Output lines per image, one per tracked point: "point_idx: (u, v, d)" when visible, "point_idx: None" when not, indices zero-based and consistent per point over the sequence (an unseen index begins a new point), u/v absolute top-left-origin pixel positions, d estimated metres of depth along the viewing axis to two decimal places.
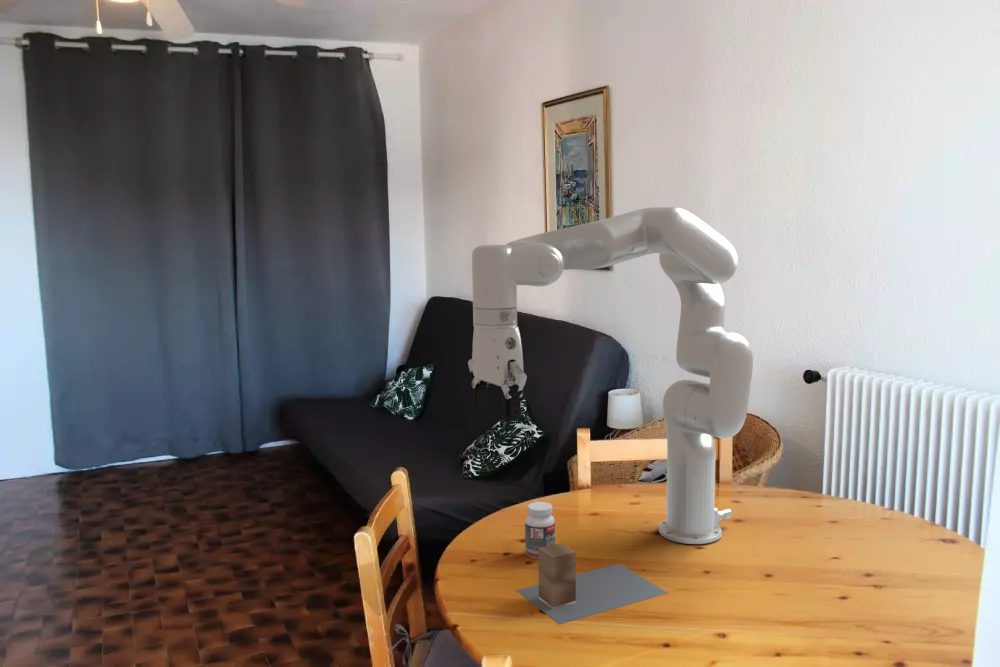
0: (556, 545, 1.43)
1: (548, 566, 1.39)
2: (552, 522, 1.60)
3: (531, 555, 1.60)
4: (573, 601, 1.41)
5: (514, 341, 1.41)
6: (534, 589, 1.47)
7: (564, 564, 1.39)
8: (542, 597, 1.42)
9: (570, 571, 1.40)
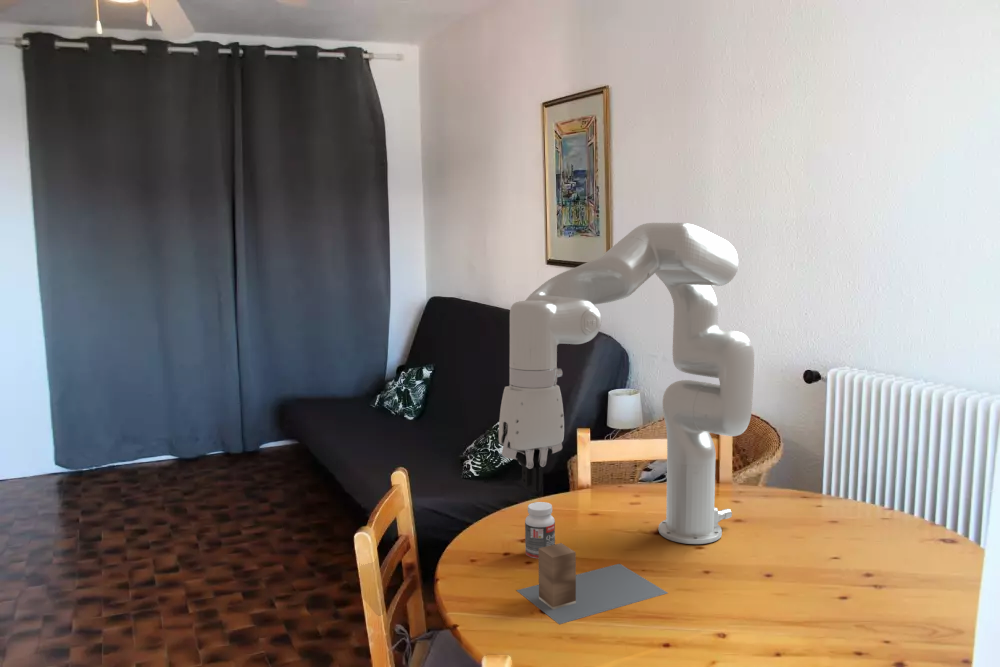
0: (556, 545, 1.43)
1: (548, 566, 1.39)
2: (552, 522, 1.60)
3: (531, 555, 1.60)
4: (573, 601, 1.41)
5: None
6: (534, 589, 1.47)
7: (564, 564, 1.39)
8: (542, 597, 1.42)
9: (570, 571, 1.40)
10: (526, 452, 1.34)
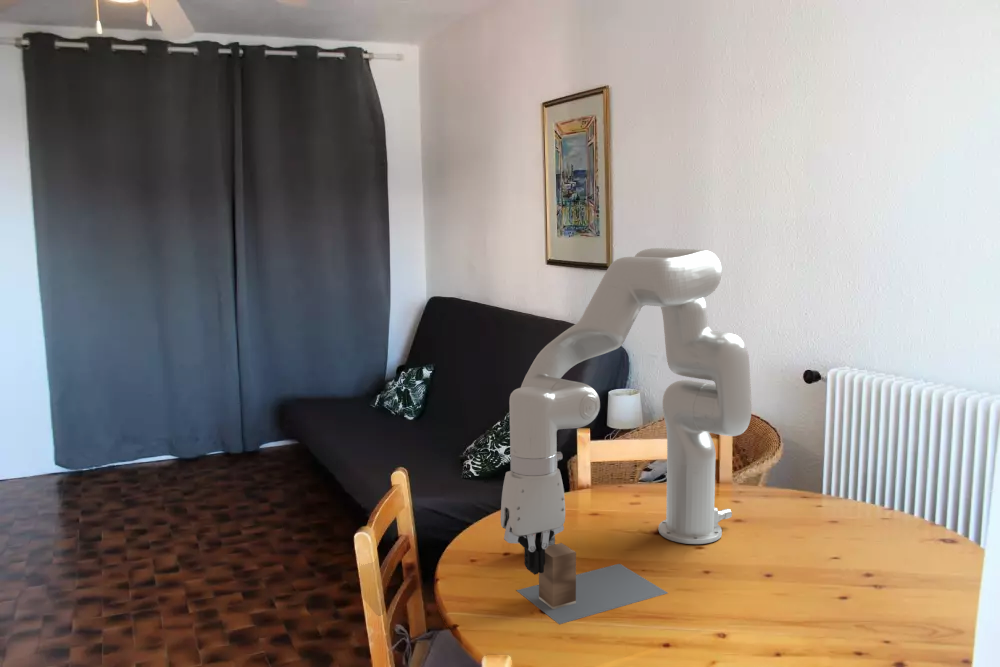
0: (557, 545, 1.43)
1: (548, 566, 1.39)
2: None
3: None
4: (573, 601, 1.41)
5: None
6: (534, 589, 1.47)
7: (564, 564, 1.39)
8: (542, 597, 1.42)
9: (570, 571, 1.40)
10: (528, 536, 1.36)
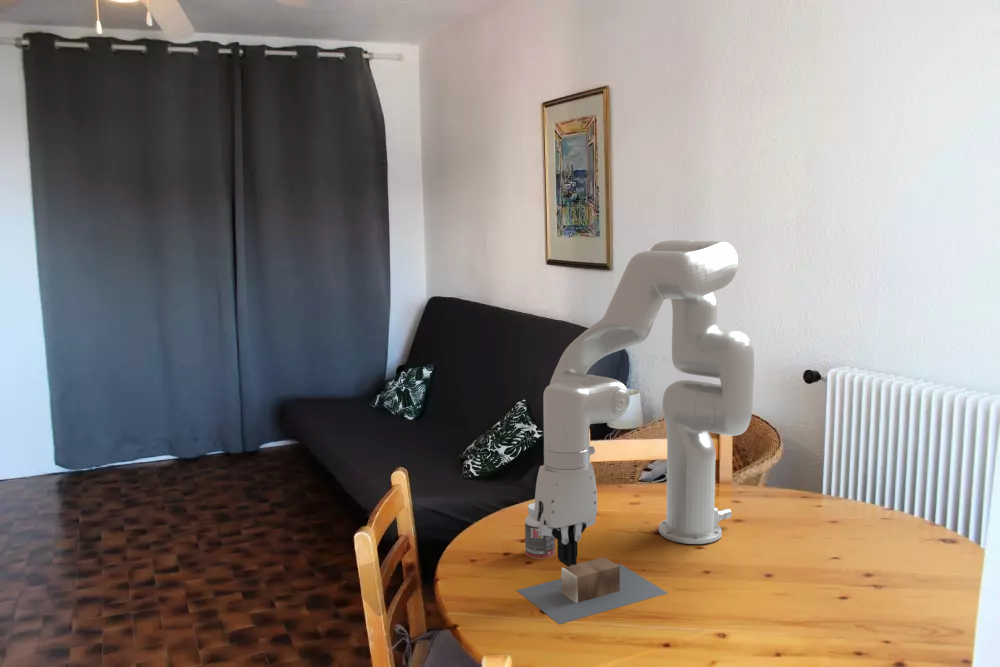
0: None
1: (605, 565, 1.45)
2: None
3: (531, 555, 1.60)
4: (577, 599, 1.41)
5: None
6: (534, 589, 1.47)
7: (611, 581, 1.44)
8: (568, 569, 1.44)
9: (604, 589, 1.44)
10: (561, 529, 1.39)
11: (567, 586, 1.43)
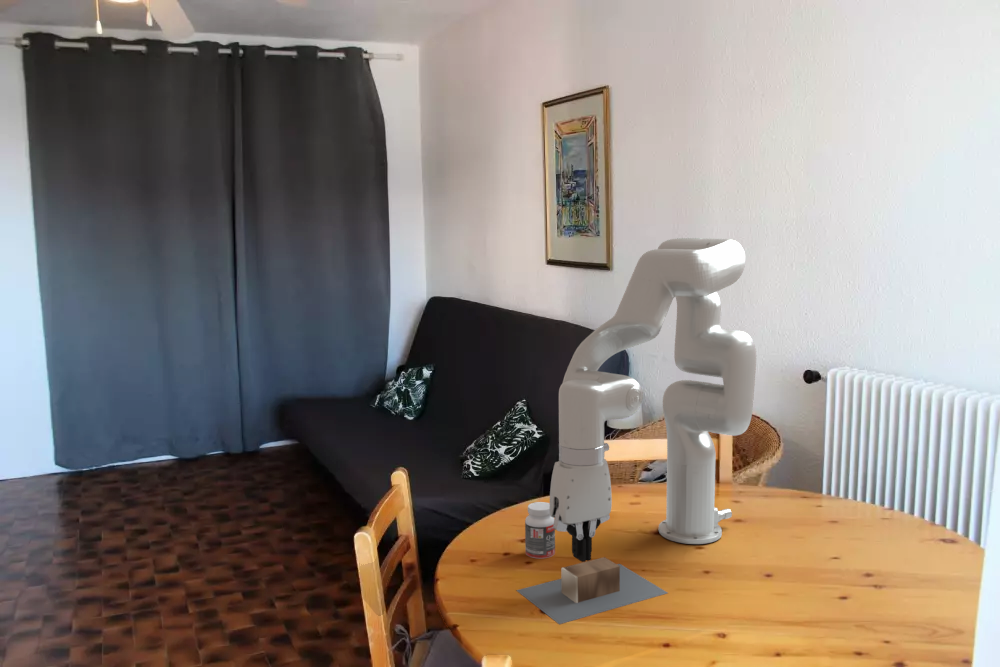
0: None
1: (605, 565, 1.45)
2: (552, 522, 1.60)
3: (531, 555, 1.60)
4: (577, 599, 1.41)
5: None
6: (534, 589, 1.47)
7: (611, 581, 1.44)
8: (568, 569, 1.44)
9: (604, 589, 1.44)
10: (576, 525, 1.40)
11: (567, 586, 1.43)
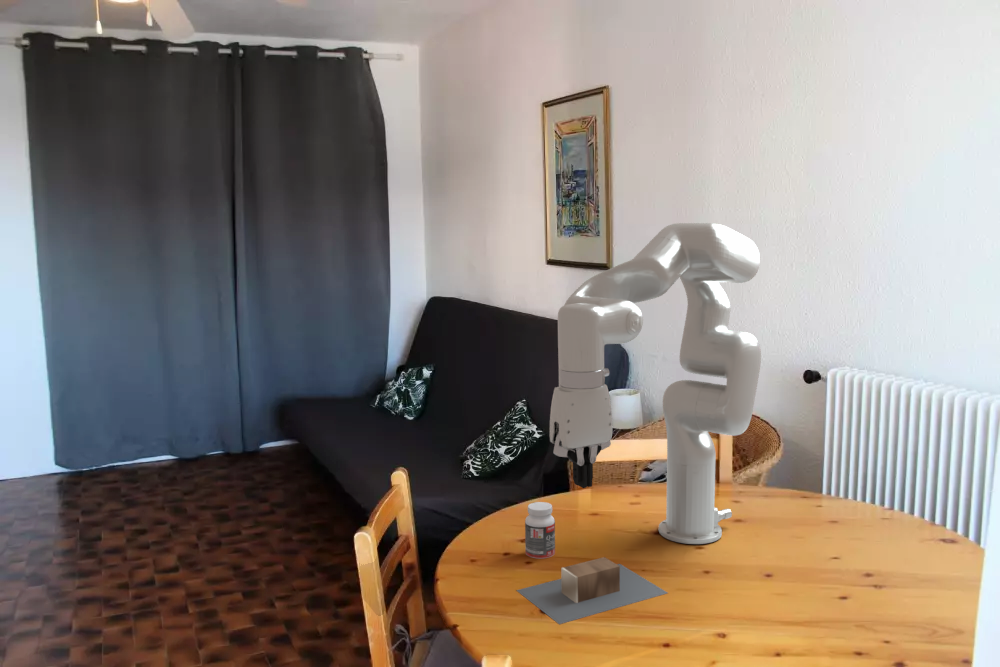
0: None
1: (605, 565, 1.45)
2: (552, 522, 1.60)
3: (531, 555, 1.60)
4: (577, 599, 1.41)
5: None
6: (534, 589, 1.47)
7: (611, 581, 1.44)
8: (568, 569, 1.44)
9: (604, 589, 1.44)
10: (577, 450, 1.39)
11: (567, 586, 1.43)
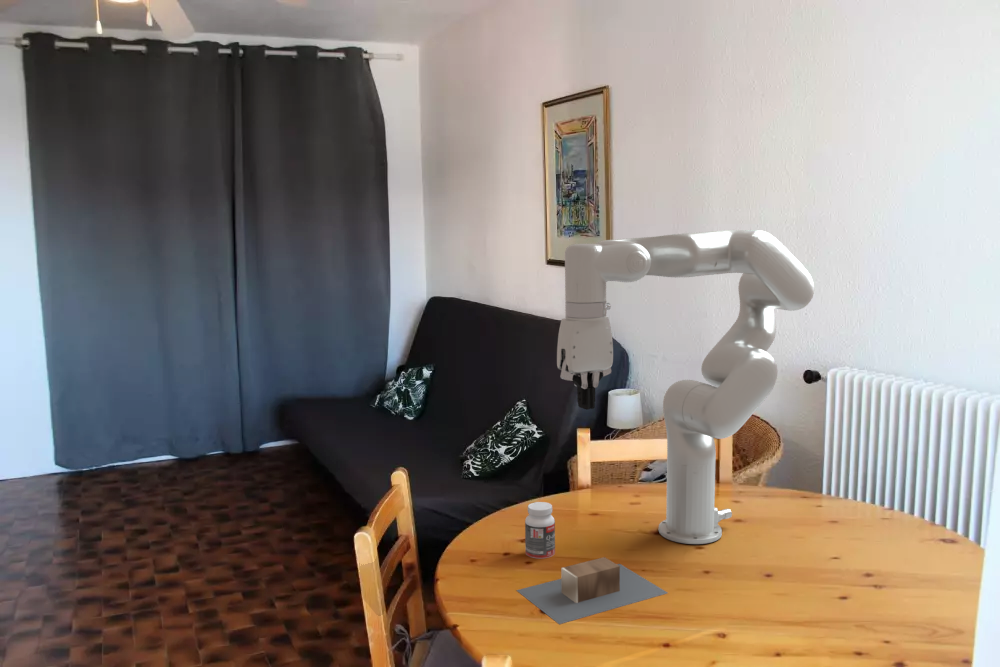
0: None
1: (605, 565, 1.45)
2: (552, 522, 1.60)
3: (531, 555, 1.60)
4: (577, 599, 1.41)
5: None
6: (534, 589, 1.47)
7: (611, 581, 1.44)
8: (568, 569, 1.44)
9: (604, 589, 1.44)
10: (581, 374, 1.55)
11: (567, 586, 1.43)
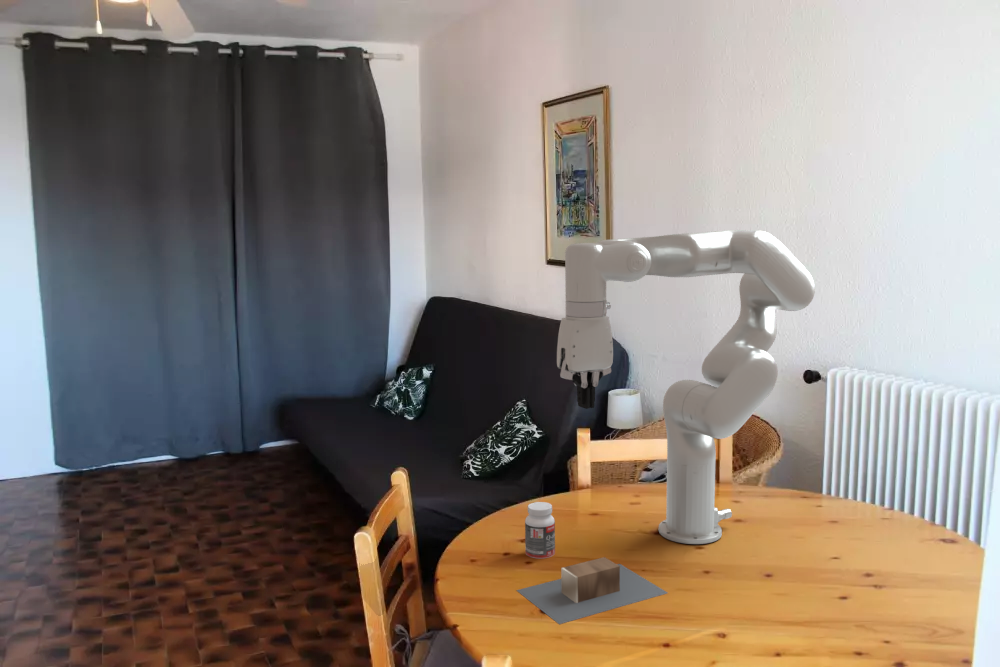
0: None
1: (605, 565, 1.45)
2: (552, 522, 1.60)
3: (531, 555, 1.60)
4: (577, 599, 1.41)
5: None
6: (534, 589, 1.47)
7: (611, 581, 1.44)
8: (568, 569, 1.44)
9: (604, 589, 1.44)
10: (581, 374, 1.55)
11: (567, 586, 1.43)
